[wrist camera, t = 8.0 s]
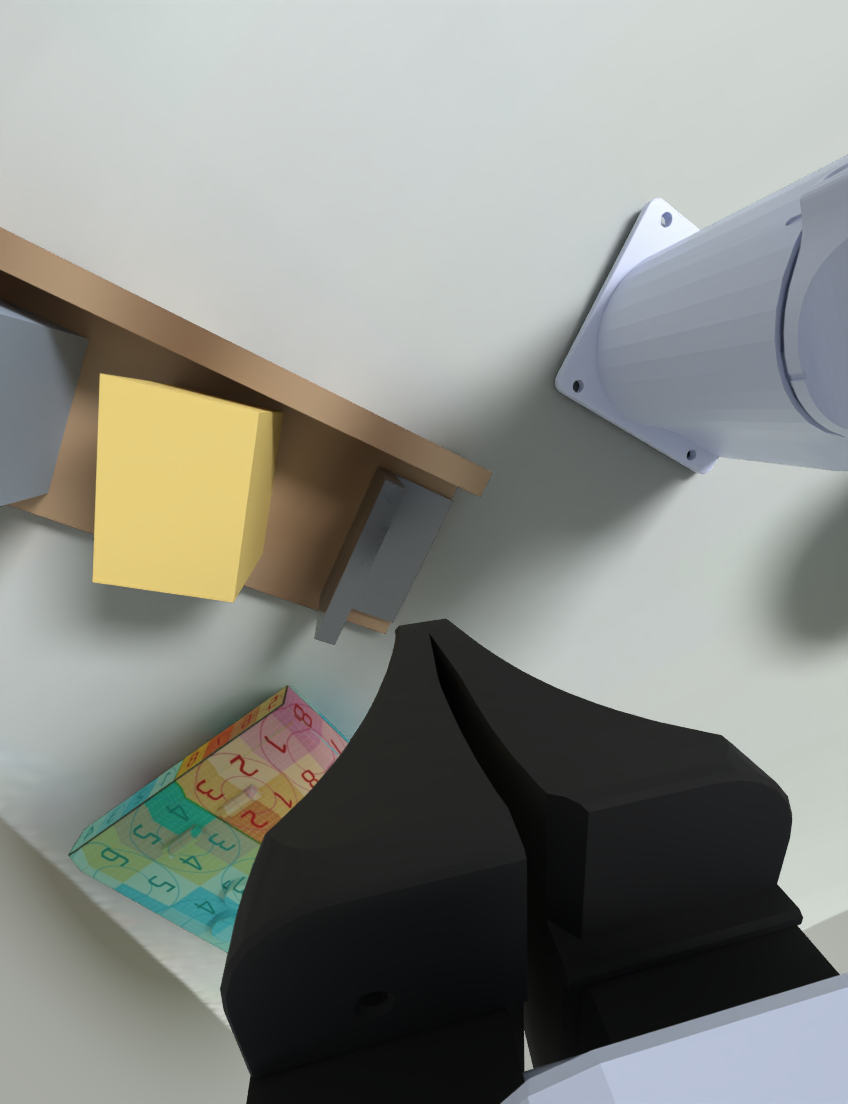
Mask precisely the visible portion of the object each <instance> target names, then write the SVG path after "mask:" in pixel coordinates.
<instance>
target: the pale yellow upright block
mask: <svg viewBox="0 0 848 1104" xmlns="http://www.w3.org/2000/svg"><path fill="white" fill-rule="evenodd" d="M283 414H284V412H281V411H277V410H273V409H269V408H265V407H261V406H257V405H253V404H249V403H245V402H241V401H237V400H233V399H229V398H225V397H221V396H217V395H213V394H209V393H205V392H201V391H197V390H193V389H189V388H185V387H181V386H177V385H172V384H166V383H159V382H153V381H146V380H140V379H133V378H127V377H120V376H114V375H107V374H101V373H100V384H99V413H98V442H97V470H96V499H95V528H94V556H93V582H95V583H102V584H109V585H116V586H123V587H130V588H137V589H144V590H151V591H157V592H164V593H171V594H178V595H185V596H192V597H199V598H206V599H213V600H220V601H227V602H234V601H235V599H236V598H237V596H238V594H239V593H240V591H241V589H242V588H243V586H244V584H245V583H246V581H247V579H248V578H249V576H250V574H251V573H252V571H253V569H254V568H255V566H256V564H257V562H258V561H259V559H260V557H261V556H262V554H263V549H264V542H265V535H266V528H267V522H268V515H269V508H270V502H271V495H272V488H273V482H274V475H275V468H276V461H277V455H278V448H279V441H280V435H281V428H282V421H283Z"/></svg>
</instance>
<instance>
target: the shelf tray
mask: <svg viewBox="0 0 848 1104" xmlns="http://www.w3.org/2000/svg"><path fill="white" fill-rule="evenodd" d="M0 298H1V299H3V300H5V301H7V302H10V303H12V304H14V305H16V306H18V307H21V308H23V309H25V310H27V311H29V312H31V313H34V314H36V315H38V316H40V317H42V318H45V319H47V320H49V321H51V322H53V323H56V324H58V325H60V326H62V327H64V328H66V329H69V330H71V331H73V332H75V333H77V334H80V335H82V336H84V337H86V338H88V339H89V341H88V345H87V349H86V353H85V356H84V360H83V364H82V368H81V371H80V375H79V379H78V383H77V386H76V390H75V394H74V398H73V402H72V405H71V409H70V413H69V417H68V420H67V424H66V428H65V432H64V435H63V439H62V443H61V447H60V450H59V454H58V458H57V462H56V466H55V469H54V473H53V477H52V481H51V484H50V488H49V492H48V493H47V494H43V495H40V496H36V497H32V498H29V499H25V500H21V501H18V502H14V503H10V504H7V505H10V506H13V507H16V508H19V509H22V510H24V511H27V512H30V513H33V514H36V515H39V516H42V517H45V518H48V519H51V520H54V521H57V522H60V523H62V524H65V525H68V526H71V527H74V528H77V529H80V530H83V531H86V532H89V533H92V534H94V528H95V499H96V470H97V442H98V413H99V384H100V373H101V374H107V375H114V376H120V377H127V378H133V379H140V380H146V381H153V382H159V383H166V384H172V385H177V386H181V387H185V388H189V389H193V390H197V391H201V392H205V393H209V394H213V395H217V396H221V397H225V398H229V399H233V400H237V401H241V402H245V403H249V404H253V405H257V406H261V407H265V408H269V409H273V410H277V411H281V412H284V414H283V421H282V428H281V435H280V441H279V448H278V455H277V461H276V468H275V475H274V482H273V488H272V495H271V502H270V508H269V515H268V522H267V528H266V535H265V542H264V549H263V554H262V556H261V557H260V559H259V561H258V562H257V564H256V566H255V568H254V569H253V571H252V573H251V574H250V576H249V578H248V579H247V581H246V583H245V584H244V586H247V587H250V588H253V589H256V590H258V591H261V592H264V593H267V594H270V595H273V596H276V597H279V598H282V599H285V600H288V601H291V602H294V603H296V604H299V605H302V606H305V607H308V608H311V609H314V610H317V611H318V609H319V602H320V596H321V593H322V590H323V588H324V586H325V584H326V581H327V579H328V577H329V575H330V572H331V570H332V568H333V566H334V563H335V561H336V559H337V557H338V554H339V552H340V550H341V547H342V545H343V543H344V541H345V538H346V536H347V534H348V532H349V529H350V527H351V525H352V523H353V520H354V518H355V516H356V514H357V511H358V509H359V507H360V504H361V502H362V500H363V498H364V495H365V493H366V491H367V489H368V486H369V484H370V482H371V480H372V477H373V475H374V473H375V471H376V468H377V466H379V467H381V468H383V469H386V470H388V471H390V472H392V473H394V474H396V475H399V476H401V477H403V478H405V479H407V480H409V481H412V482H414V483H416V484H418V485H420V486H422V487H425V488H427V489H429V490H431V491H433V492H435V493H438V494H440V495H442V496H444V497H446V498H448V499H452V497H453V495H454V493H455V491H456V489H457V487H460V488H462V489H464V490H466V491H468V492H470V493H473V494H475V495H477V496H479V497H481V495H482V493H483V491H484V489H485V487H486V485H487V483H488V481H489V479H490V477H491V475H492V472H490V471H488V470H486V469H484V468H482V467H480V466H478V465H476V464H474V463H472V462H470V461H468V460H466V459H464V458H462V457H460V456H458V455H456V454H454V453H452V452H450V451H448V450H446V449H444V448H442V447H440V446H438V445H436V444H434V443H432V442H430V441H428V440H426V439H424V438H422V437H420V436H418V435H416V434H414V433H412V432H410V431H408V430H406V429H404V428H402V427H400V426H398V425H396V424H394V423H392V422H390V421H388V420H386V419H384V418H382V417H380V416H378V415H376V414H374V413H372V412H370V411H368V410H366V409H364V408H362V407H360V406H358V405H356V404H354V403H352V402H350V401H348V400H346V399H344V398H342V397H340V396H338V395H336V394H334V393H332V392H330V391H328V390H326V389H324V388H322V387H320V386H318V385H316V384H314V383H312V382H310V381H308V380H306V379H304V378H302V377H300V376H298V375H296V374H294V373H292V372H290V371H288V370H286V369H284V368H282V367H280V366H278V365H276V364H274V363H272V362H270V361H268V360H266V359H264V358H262V357H260V356H258V355H256V354H254V353H252V352H250V351H248V350H246V349H244V348H242V347H240V346H238V345H236V344H234V343H232V342H230V341H227V340H225V339H223V338H221V337H219V336H217V335H215V334H213V333H211V332H209V331H207V330H205V329H203V328H201V327H199V326H197V325H195V324H193V323H191V322H189V321H187V320H185V319H183V318H181V317H179V316H177V315H175V314H173V313H171V312H169V311H167V310H165V309H163V308H161V307H159V306H157V305H155V304H153V303H151V302H149V301H147V300H145V299H143V298H141V297H139V296H137V295H135V294H133V293H131V292H129V291H127V290H125V289H123V288H121V287H119V286H117V285H115V284H113V283H111V282H109V281H107V280H105V279H103V278H101V277H99V276H97V275H95V274H93V273H91V272H89V271H87V270H85V269H83V268H81V267H79V266H77V265H75V264H73V263H71V262H69V261H67V260H65V259H63V258H61V257H59V256H57V255H55V254H53V253H51V252H49V251H47V250H45V249H43V248H41V247H39V246H37V245H35V244H33V243H31V242H29V241H27V240H25V239H23V238H21V237H19V236H17V235H15V234H13V233H11V232H9V231H7V230H5V229H3V228H1V227H0ZM346 621H349V622H352V623H355V624H358V625H361V626H364V627H367V628H370V629H373V630H375V631H378V632H381V633H384V634H386V631H387V629H388V627H389V625H390V623H391V622H389V621H386V620H383V619H380V618H377V617H375V616H372V615H369V614H366V613H363V612H360V611H358V610H355V609H351V611H350V613H349V615H348V618H347V620H346Z"/></svg>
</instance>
